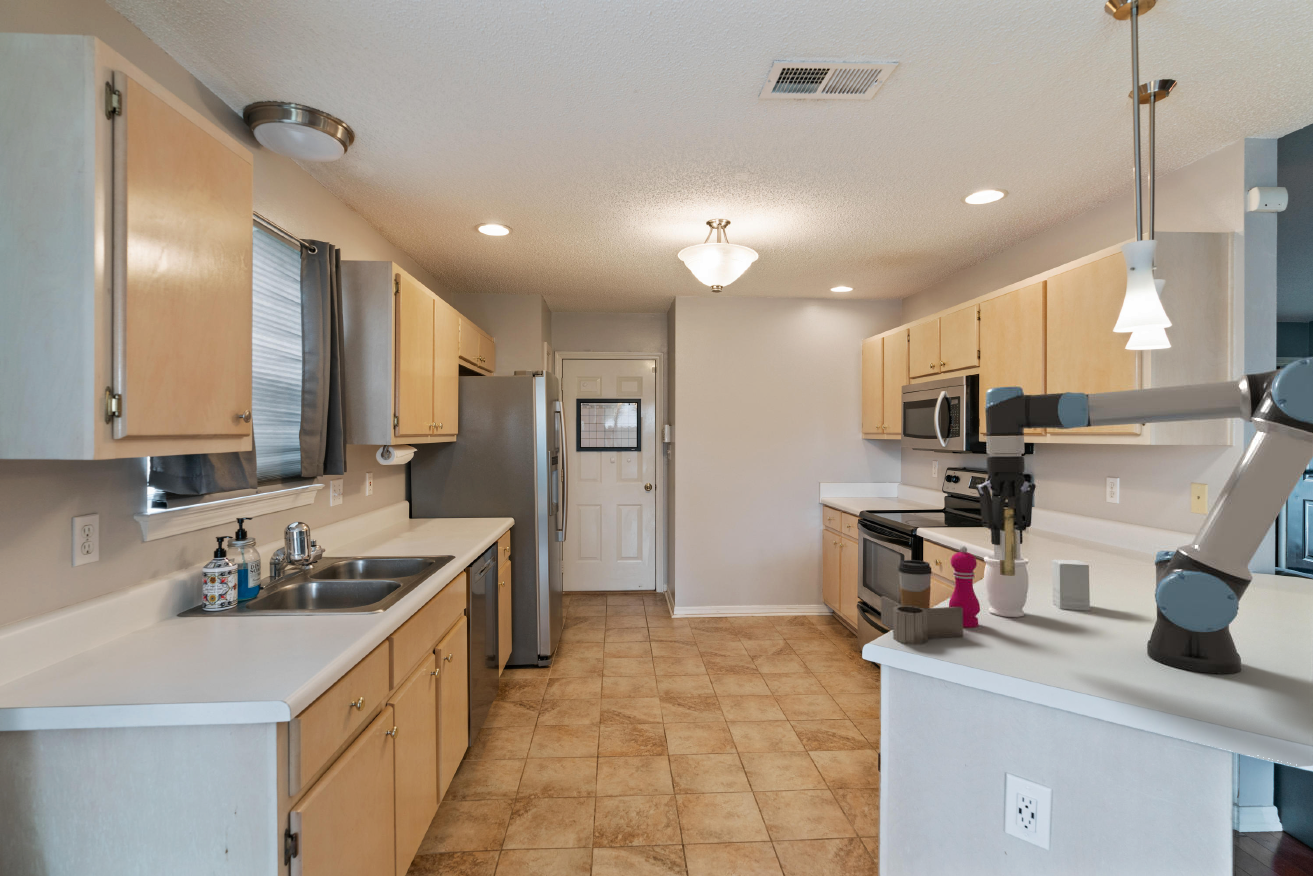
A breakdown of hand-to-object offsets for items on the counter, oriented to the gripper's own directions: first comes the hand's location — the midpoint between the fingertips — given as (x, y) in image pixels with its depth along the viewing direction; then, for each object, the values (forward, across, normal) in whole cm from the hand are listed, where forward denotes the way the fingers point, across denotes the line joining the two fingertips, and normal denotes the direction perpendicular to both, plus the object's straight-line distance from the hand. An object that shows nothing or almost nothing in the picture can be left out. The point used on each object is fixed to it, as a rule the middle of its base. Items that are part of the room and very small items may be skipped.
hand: (1007, 558), depth 143 cm
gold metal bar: (+4, 0, 0) cm, 4 cm away
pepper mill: (+21, -2, -19) cm, 28 cm away
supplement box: (+21, -41, -29) cm, 54 cm away
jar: (+21, -19, -26) cm, 38 cm away
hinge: (+20, +13, -15) cm, 28 cm away
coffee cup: (+20, +8, -25) cm, 33 cm away
